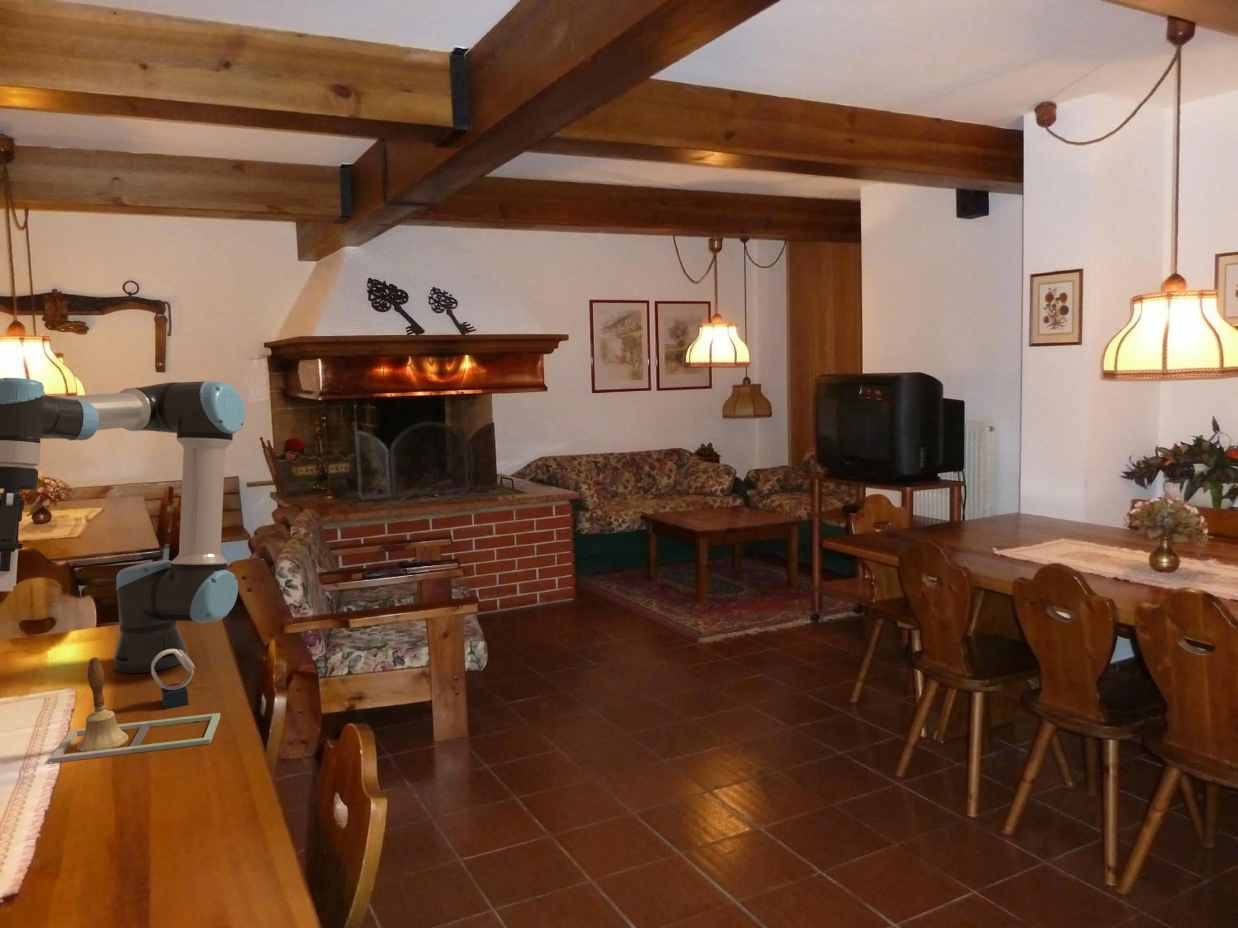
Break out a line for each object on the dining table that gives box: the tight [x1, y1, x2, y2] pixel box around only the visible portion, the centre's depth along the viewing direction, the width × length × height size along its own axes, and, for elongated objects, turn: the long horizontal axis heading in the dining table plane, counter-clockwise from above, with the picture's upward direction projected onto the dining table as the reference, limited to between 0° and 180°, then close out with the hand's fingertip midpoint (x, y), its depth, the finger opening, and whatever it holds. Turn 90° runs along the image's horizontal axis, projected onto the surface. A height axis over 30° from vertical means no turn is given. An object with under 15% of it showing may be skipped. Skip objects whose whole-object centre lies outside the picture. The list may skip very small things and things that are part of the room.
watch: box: [150, 649, 196, 710], centre depth 188 cm, size 6×8×11 cm
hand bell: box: [75, 656, 129, 753], centre depth 168 cm, size 8×8×16 cm
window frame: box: [49, 712, 221, 763], centre depth 170 cm, size 13×26×1 cm, turn 106°
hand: (5, 588), depth 162 cm, fingers open, 13 cm apart
